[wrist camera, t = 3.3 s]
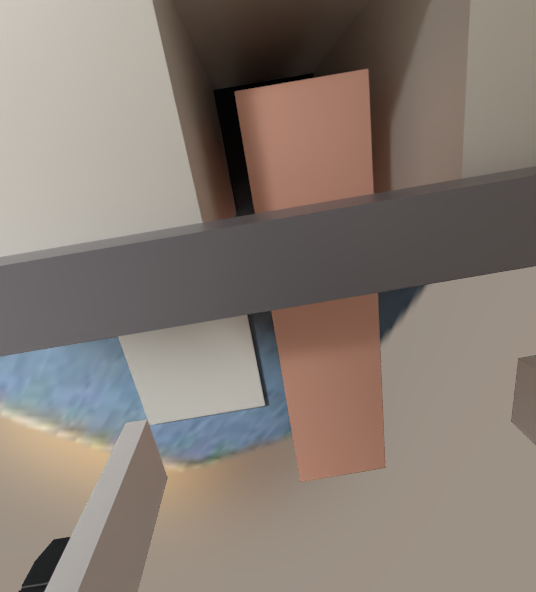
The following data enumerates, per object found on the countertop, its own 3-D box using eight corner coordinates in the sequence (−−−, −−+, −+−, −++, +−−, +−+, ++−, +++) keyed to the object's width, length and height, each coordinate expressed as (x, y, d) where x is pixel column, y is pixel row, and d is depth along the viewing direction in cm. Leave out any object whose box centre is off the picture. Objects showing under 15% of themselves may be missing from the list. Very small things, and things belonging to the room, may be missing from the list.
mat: (151, 420, 24) (149, 425, 24) (98, 271, 20) (95, 273, 20) (264, 401, 24) (265, 405, 24) (234, 248, 20) (234, 250, 20)
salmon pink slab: (275, 334, 22) (300, 482, 12) (240, 131, 18) (234, 91, 8) (321, 326, 22) (385, 467, 12) (298, 121, 18) (368, 68, 8)
